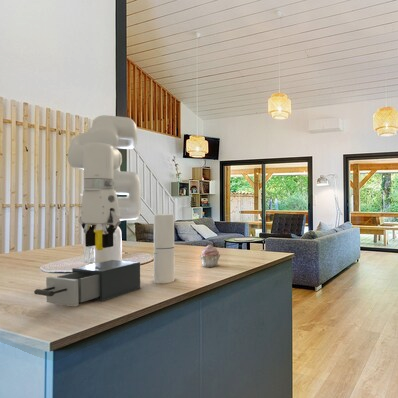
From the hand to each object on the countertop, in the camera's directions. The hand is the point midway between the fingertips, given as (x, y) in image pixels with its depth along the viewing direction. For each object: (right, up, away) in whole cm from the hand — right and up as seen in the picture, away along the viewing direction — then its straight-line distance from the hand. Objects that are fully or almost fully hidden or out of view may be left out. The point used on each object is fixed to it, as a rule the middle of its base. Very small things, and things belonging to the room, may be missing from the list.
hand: (99, 246), depth 95 cm
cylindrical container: (+8, -17, +26) cm, 32 cm away
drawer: (-8, -16, +1) cm, 18 cm away
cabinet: (-4, -17, +12) cm, 21 cm away
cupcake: (+18, -17, +52) cm, 58 cm away
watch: (0, -1, 0) cm, 1 cm away
